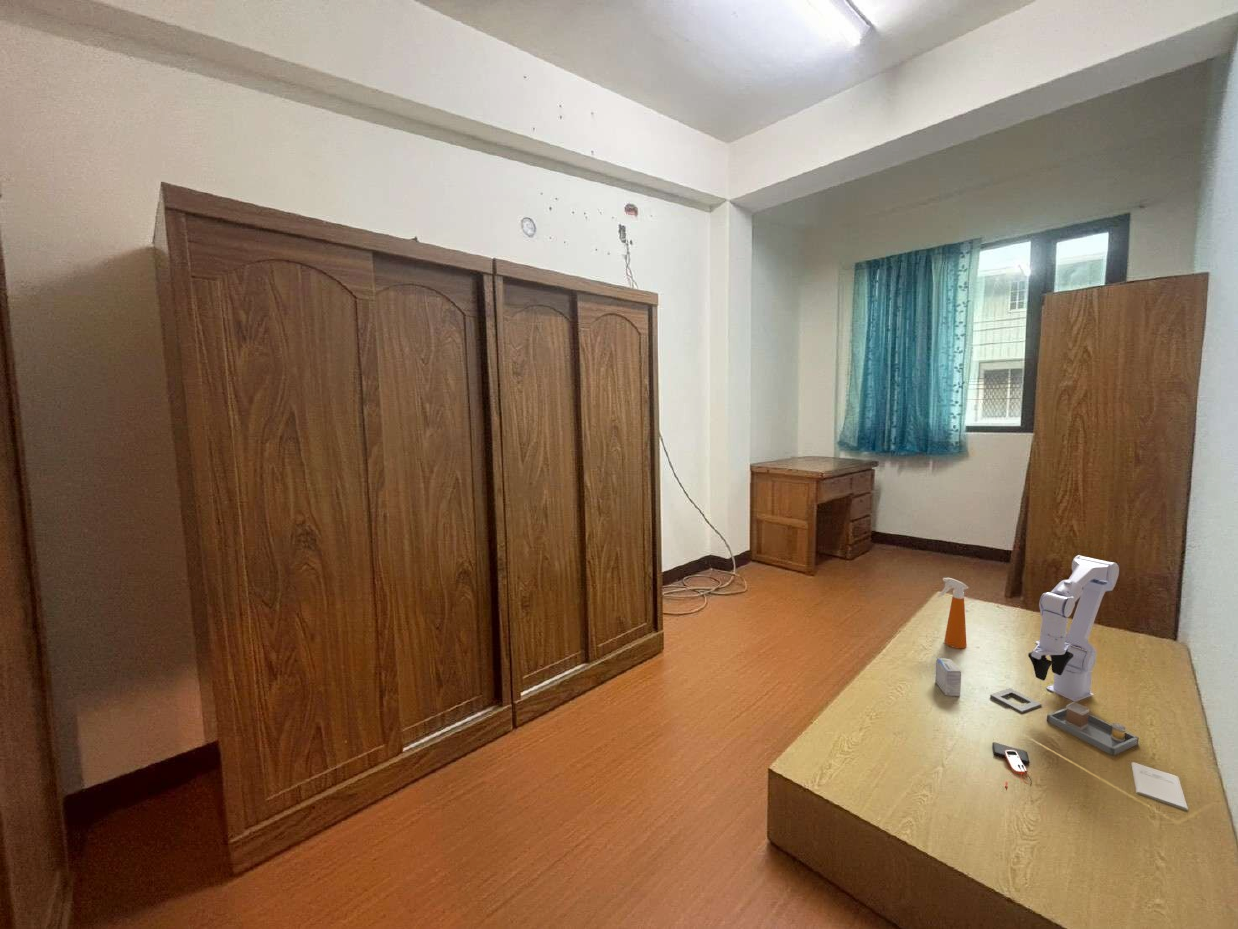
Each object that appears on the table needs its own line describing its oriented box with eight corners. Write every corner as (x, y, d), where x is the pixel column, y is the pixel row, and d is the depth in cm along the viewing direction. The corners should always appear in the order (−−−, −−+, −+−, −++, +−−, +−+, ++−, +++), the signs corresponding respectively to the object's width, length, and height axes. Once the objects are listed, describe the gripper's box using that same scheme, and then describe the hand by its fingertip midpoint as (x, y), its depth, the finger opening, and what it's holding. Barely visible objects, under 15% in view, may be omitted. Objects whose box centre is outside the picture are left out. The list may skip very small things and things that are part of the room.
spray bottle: (930, 638, 195) (934, 574, 191) (960, 639, 193) (964, 574, 189) (939, 648, 188) (943, 581, 184) (970, 649, 186) (975, 581, 182)
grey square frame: (1009, 691, 160) (1009, 688, 160) (1041, 707, 152) (1041, 704, 152) (990, 698, 157) (990, 694, 157) (1021, 715, 149) (1021, 711, 149)
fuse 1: (1071, 719, 146) (1073, 701, 145) (1087, 726, 142) (1089, 709, 141) (1064, 723, 144) (1066, 705, 143) (1080, 730, 141) (1082, 712, 140)
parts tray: (1071, 713, 149) (1071, 705, 149) (1137, 746, 135) (1138, 737, 135) (1046, 722, 145) (1047, 715, 145) (1112, 757, 131) (1113, 749, 131)
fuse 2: (1114, 735, 138) (1115, 722, 138) (1126, 741, 136) (1128, 727, 135) (1108, 737, 138) (1110, 724, 137) (1120, 743, 135) (1122, 730, 135)
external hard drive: (1136, 797, 119) (1130, 766, 129) (1187, 815, 114) (1178, 781, 123) (1136, 791, 119) (1131, 761, 128) (1188, 808, 114) (1178, 776, 123)
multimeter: (1056, 810, 116) (1057, 797, 116) (992, 787, 123) (993, 775, 123) (1049, 764, 131) (1050, 752, 130) (992, 746, 138) (993, 734, 137)
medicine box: (960, 697, 158) (962, 671, 157) (944, 695, 159) (946, 670, 158) (949, 682, 166) (951, 658, 165) (934, 681, 167) (936, 657, 166)
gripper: (1053, 623, 155) (1048, 664, 156) (1022, 631, 150) (1017, 674, 151) (1080, 633, 148) (1075, 676, 150) (1049, 642, 143) (1044, 686, 145)
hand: (1048, 676), depth 150 cm, fingers open, 7 cm apart
